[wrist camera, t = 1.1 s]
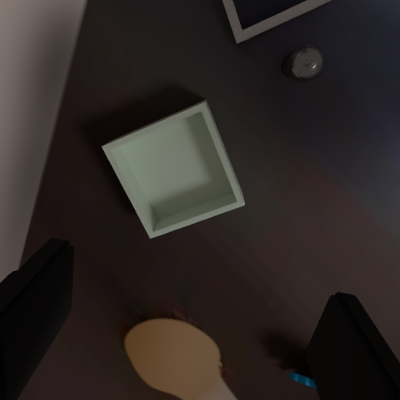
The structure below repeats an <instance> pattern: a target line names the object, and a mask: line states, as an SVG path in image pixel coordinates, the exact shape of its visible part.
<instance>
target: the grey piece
mask: <svg viewBox="0 0 400 400" xmlns="http://www.w3.org/2000/svg"><path fill="white" fill-rule="evenodd" d="M330 1H332V0H307V1H304V2H302V3H300V4H298V5H296V6H294V7H292V8H289V9H287V10H285V11H283V12H281V13H279V14H277V15H274V16H272V17H270V18H268V19H266V20H264V21H262V22H259V23H257V24H255V25H253V26H251V27H249V28H247V29H244V30H242V28H241V25H240V22H239V19H238V15H237V12H236V9H235V6H234V3H233V0H221V2H222V5H223V8H224V11H225V14H226V17H227V20H228V23H229V26H230V29H231V31H232V34H233V37H234V40H235V43H236V45H237V44H240V43H242V42H244V41H246V40H248V39H250V38H253V37H255V36H257V35H259V34H261V33H264V32H266V31H268V30H270V29H272V28H274V27H277V26H279V25H281V24H283V23H285V22H288V21H290V20H292V19H294V18H296V17H298V16H301V15H303V14H305V13H307V12H309V11H311V10H314V9H316V8H318V7H320V6H322V5H325V4H327V3H329V2H330ZM324 66H325V54H324V52H323V50H322V49H321V48H320V47H319V46H317V45H315V44H304V45H301V46H299V47H298V48H297V49H295V50H294V52H293V53H292V54H291V55H288V56H287V57H286V58H285V59H284V60H283V62H282V71H283V73H284V74H285V75H286V76H288V77H293V78H294V79H296V80H298V81H301V82H308V81H312V80H314V79H315V78H317V77H318V76H319V75H320V74H321V73H322V71H323V69H324Z"/></svg>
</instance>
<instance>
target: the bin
mask: <svg viewBox="0 0 400 400" xmlns="http://www.w3.org/2000/svg"><path fill="white" fill-rule="evenodd" d="M102 148H103V150H104V152H105V154H106V156H107V158H108V160H109V161H110V163H111V165H112V167H113V169H114V171H115V173H116V175H117V177H118V178H119V180H120V182H121V184H122V186H123V188H124V190H125V192H126V194H127V195H128V197H129V199H130V201H131V203H132V205H133V207H134V209H135V210H136V212H137V214H138V216H139V218H140V220H141V222H142V224H143V226H144V227H145V229H146V231H147V233H148V235H149V237H150V239H151V238H153V237H156V236H159V235H162V234H165V233H167V232H170V231H173V230H176V229H179V228H182V227H184V226H187V225H190V224H193V223H196V222H198V221H201V220H204V219H207V218H210V217H212V216H215V215H218V214H221V213H224V212H226V211H229V210H232V209H235V208H238V207H241V206H243V205H245V202H244V198H243V194H242V191H241V188H240V186H239V183H238V180H237V178H236V175H235V173H234V170H233V167H232V165H231V162H230V160H229V157H228V155H227V152H226V149H225V147H224V144H223V142H222V139H221V137H220V134H219V131H218V129H217V126H216V124H215V121H214V118H213V116H212V113H211V111H210V108H209V106H208V103H207V100H204V101H201V102H199V103H197V104H195V105H192V106H190V107H188V108H185V109H183V110H181V111H178V112H176V113H174V114H171V115H169V116H167V117H164V118H162V119H160V120H158V121H155V122H153V123H151V124H148V125H146V126H144V127H141V128H139V129H137V130H134V131H132V132H130V133H128V134H125V135H123V136H121V137H118V138H116V139H114V140H112V141H110V142H109V143H107V144H105V145H104V146H102Z"/></svg>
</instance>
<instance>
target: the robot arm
mask: <svg viewBox="0 0 400 400" xmlns="http://www.w3.org/2000/svg"><path fill="white" fill-rule="evenodd" d="M73 264H74V246H71V245H70V243H69V241H67V240H61V239H56V238H51V239H49V240H48V241H47V242H46V243H45V244H44V245H43V246H42V247H41V248H40V249H39V250H38V251H37V252H36V253H35V254H34V255H33V256H32V257H31V258H30V259H29V260H28V261H27V262H26V263H25V264H24V265H23V266H22V267H21V268H20V269H19V270H18V271H17V270H16V271H13V272H12V273H11V274H9V275H8V276H7V277H6V278H5V279H4V280H3V281H2V282H1V283H0V400H17V399H18V397H19V396H20V394H21V393H22V391H23V389H24V388H25V386H26V384H27V383H28V381H29V379H30V378H31V376H32V375H33V373H34V371H35V370H36V368H37V366H38V365H39V363H40V361H41V360H42V358H43V357H44V355H45V353H46V352H47V350H48V348H49V347H50V345H51V343H52V342H53V340H54V339H55V337H56V335H57V334H58V332H59V330H60V329H61V327H62V326H63V324H64V322H65V321H66V319H67V317H68V316H69V313H70V310H71V306H72V286H73ZM306 358H307V362H308V365H309V368H310V371H311V374H312V377H313V380H314V383H315V386H316V389H317V392H318V395H319V398H320V400H400V363H399V361H398V359H397V358H396V356H395V355H394V353H393V352H392V350H391V349H390V347H389V346H388V344H387V343H386V341H385V340H384V338H383V337H382V335H381V334H380V332H379V331H378V329H377V328H376V326H375V325H374V323H373V321H372V320H371V318H370V317H369V315H368V314H367V312H366V311H365V309H364V308H363V306H362V305H361V303H360V302H359V300H358V299H357V297H356V296H355V295H351V294H346V293H341V292H337V293H336V294H335V295H331V296H330V298H329V300H328V302H327V304H326V307H325V309H324V311H323V313H322V316H321V318H320V320H319V323H318V325H317V327H316V329H315V332H314V334H313V336H312V338H311V341H310V343H309V345H308V347H307V351H306Z"/></svg>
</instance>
